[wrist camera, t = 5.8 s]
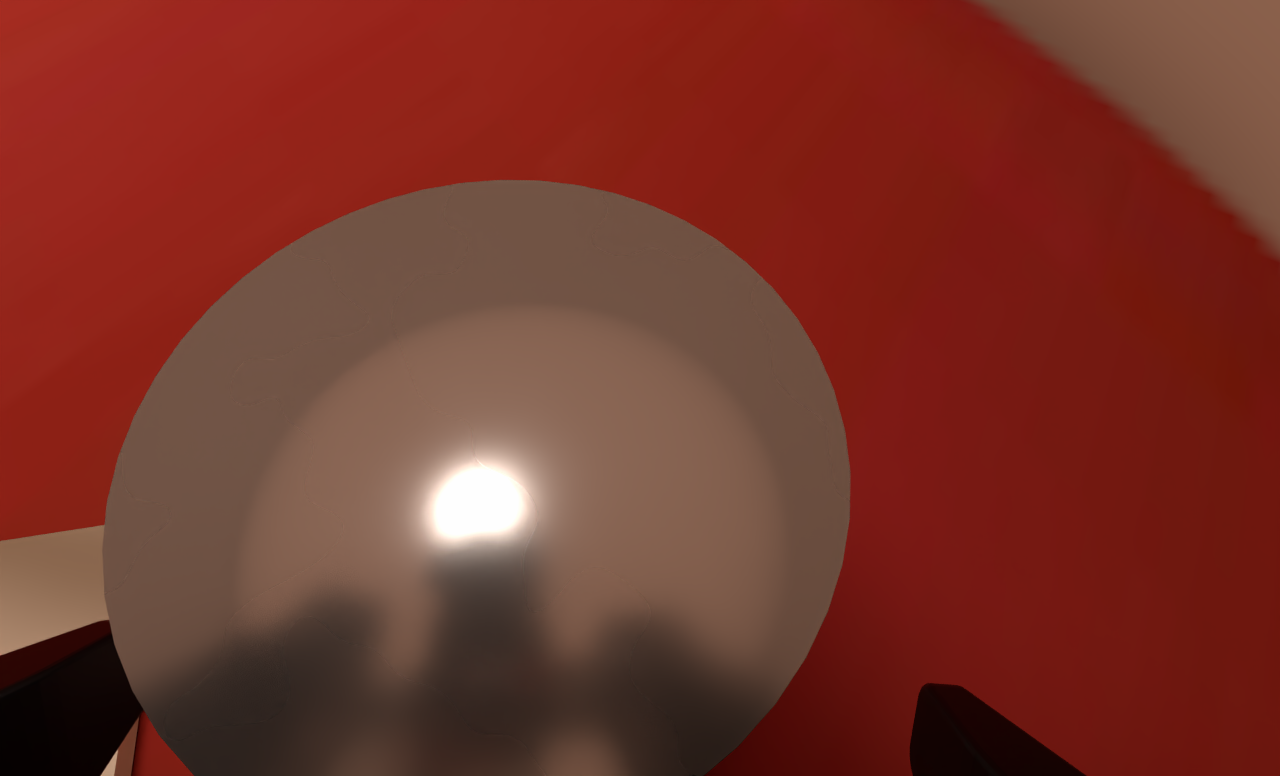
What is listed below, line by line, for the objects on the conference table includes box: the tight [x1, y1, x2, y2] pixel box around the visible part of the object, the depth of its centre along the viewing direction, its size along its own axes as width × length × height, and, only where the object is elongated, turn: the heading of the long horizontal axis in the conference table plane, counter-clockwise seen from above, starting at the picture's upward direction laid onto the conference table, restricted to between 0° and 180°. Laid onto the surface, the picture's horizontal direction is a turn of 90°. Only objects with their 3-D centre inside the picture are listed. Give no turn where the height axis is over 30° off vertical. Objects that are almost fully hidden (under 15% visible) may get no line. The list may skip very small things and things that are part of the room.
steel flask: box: [102, 180, 850, 776], centre depth 12 cm, size 6×6×12 cm
